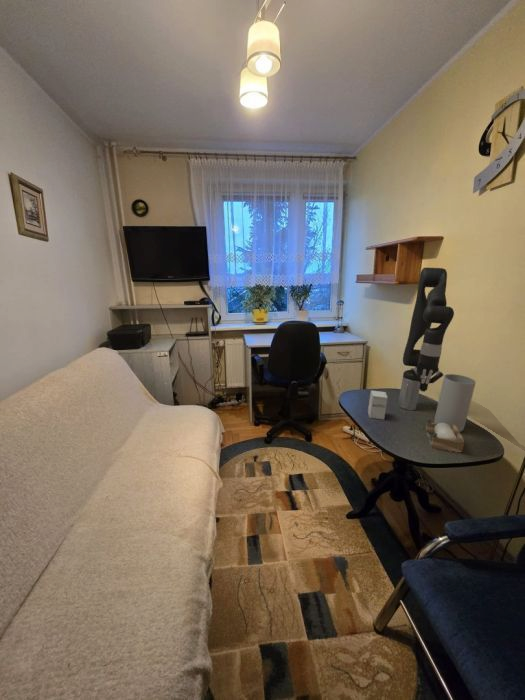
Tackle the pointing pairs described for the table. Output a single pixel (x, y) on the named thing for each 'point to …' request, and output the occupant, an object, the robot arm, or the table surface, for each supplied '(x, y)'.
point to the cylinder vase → (454, 400)
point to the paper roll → (444, 431)
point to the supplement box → (377, 404)
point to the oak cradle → (442, 442)
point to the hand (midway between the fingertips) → (422, 390)
